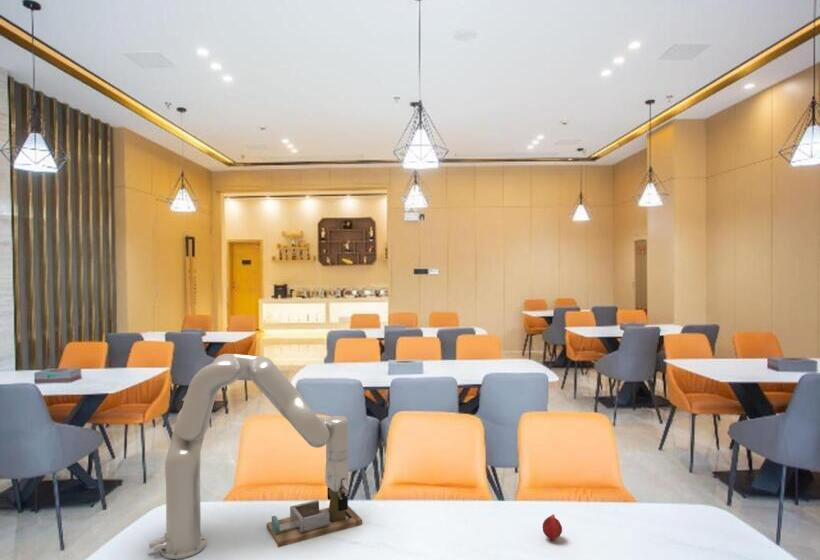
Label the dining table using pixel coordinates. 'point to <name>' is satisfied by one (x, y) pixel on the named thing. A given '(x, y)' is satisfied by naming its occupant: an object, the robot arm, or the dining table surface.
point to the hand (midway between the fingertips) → (337, 504)
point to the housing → (297, 518)
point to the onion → (552, 527)
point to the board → (296, 536)
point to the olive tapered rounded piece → (335, 507)
